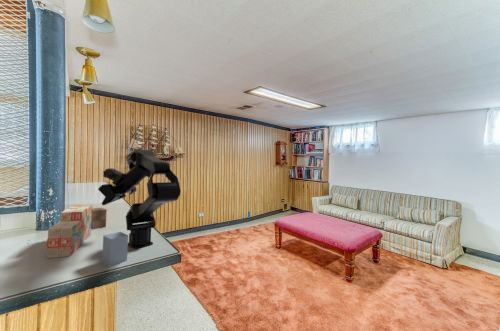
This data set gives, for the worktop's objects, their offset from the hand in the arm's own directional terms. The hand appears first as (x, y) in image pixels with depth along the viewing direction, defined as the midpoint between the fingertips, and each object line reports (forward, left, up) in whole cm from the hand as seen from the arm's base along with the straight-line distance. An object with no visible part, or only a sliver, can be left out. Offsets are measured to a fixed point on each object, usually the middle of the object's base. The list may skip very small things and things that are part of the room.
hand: (102, 204), depth 86 cm
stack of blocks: (+9, -2, -14) cm, 17 cm away
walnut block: (-5, -18, -14) cm, 23 cm away
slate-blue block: (+5, +22, -14) cm, 26 cm away
